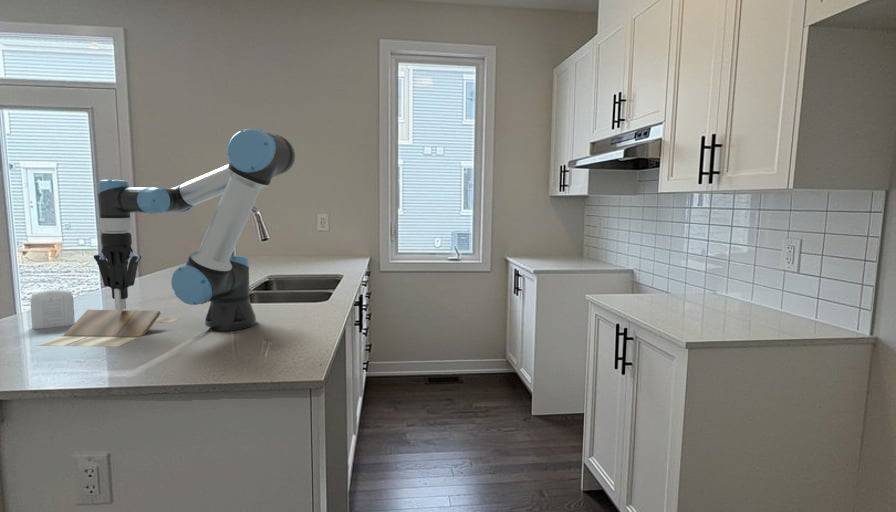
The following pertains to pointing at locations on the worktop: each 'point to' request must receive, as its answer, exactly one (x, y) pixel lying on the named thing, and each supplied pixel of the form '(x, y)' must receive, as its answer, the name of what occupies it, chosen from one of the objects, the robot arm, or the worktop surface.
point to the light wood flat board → (89, 341)
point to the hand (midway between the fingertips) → (120, 309)
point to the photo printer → (52, 309)
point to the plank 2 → (166, 320)
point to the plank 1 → (114, 323)
